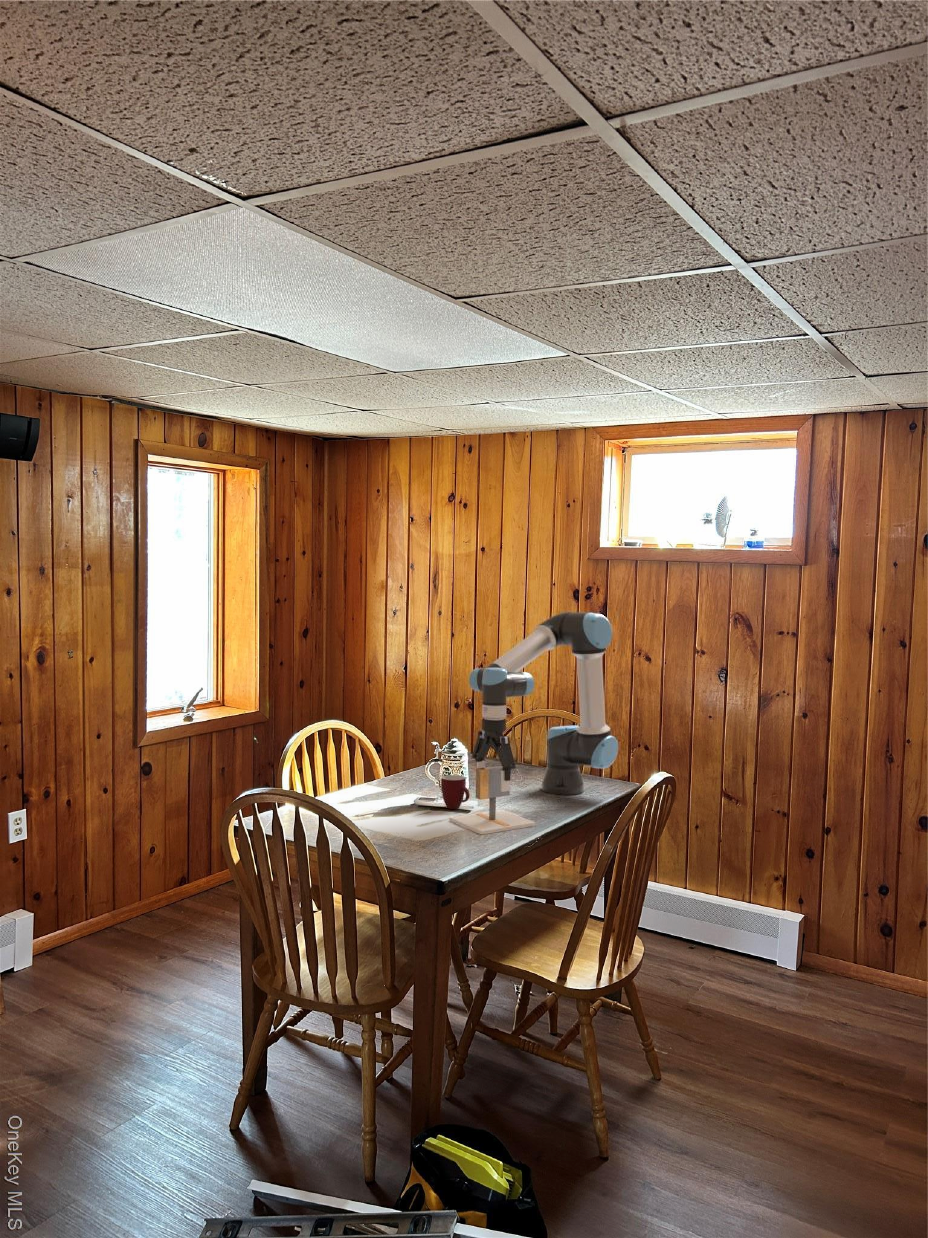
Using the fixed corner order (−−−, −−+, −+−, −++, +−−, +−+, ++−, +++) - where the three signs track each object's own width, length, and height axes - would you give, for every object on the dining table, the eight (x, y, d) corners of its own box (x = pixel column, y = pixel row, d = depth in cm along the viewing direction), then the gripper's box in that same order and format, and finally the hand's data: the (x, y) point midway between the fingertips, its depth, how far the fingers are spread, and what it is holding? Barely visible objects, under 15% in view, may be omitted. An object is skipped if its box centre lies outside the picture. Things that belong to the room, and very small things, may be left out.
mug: (476, 808, 300) (476, 778, 300) (463, 813, 294) (463, 782, 293) (449, 803, 306) (450, 774, 306) (436, 808, 299) (436, 778, 299)
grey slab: (504, 793, 286) (505, 765, 285) (509, 795, 284) (510, 766, 283) (475, 798, 280) (475, 768, 279) (480, 799, 278) (480, 770, 277)
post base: (502, 812, 295) (502, 788, 295) (535, 825, 280) (536, 799, 280) (449, 820, 284) (449, 795, 284) (481, 834, 269) (481, 807, 269)
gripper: (462, 713, 289) (460, 780, 290) (507, 724, 268) (506, 796, 269) (481, 712, 293) (480, 777, 294) (527, 723, 272) (526, 793, 273)
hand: (492, 786), depth 282 cm, fingers open, 13 cm apart
